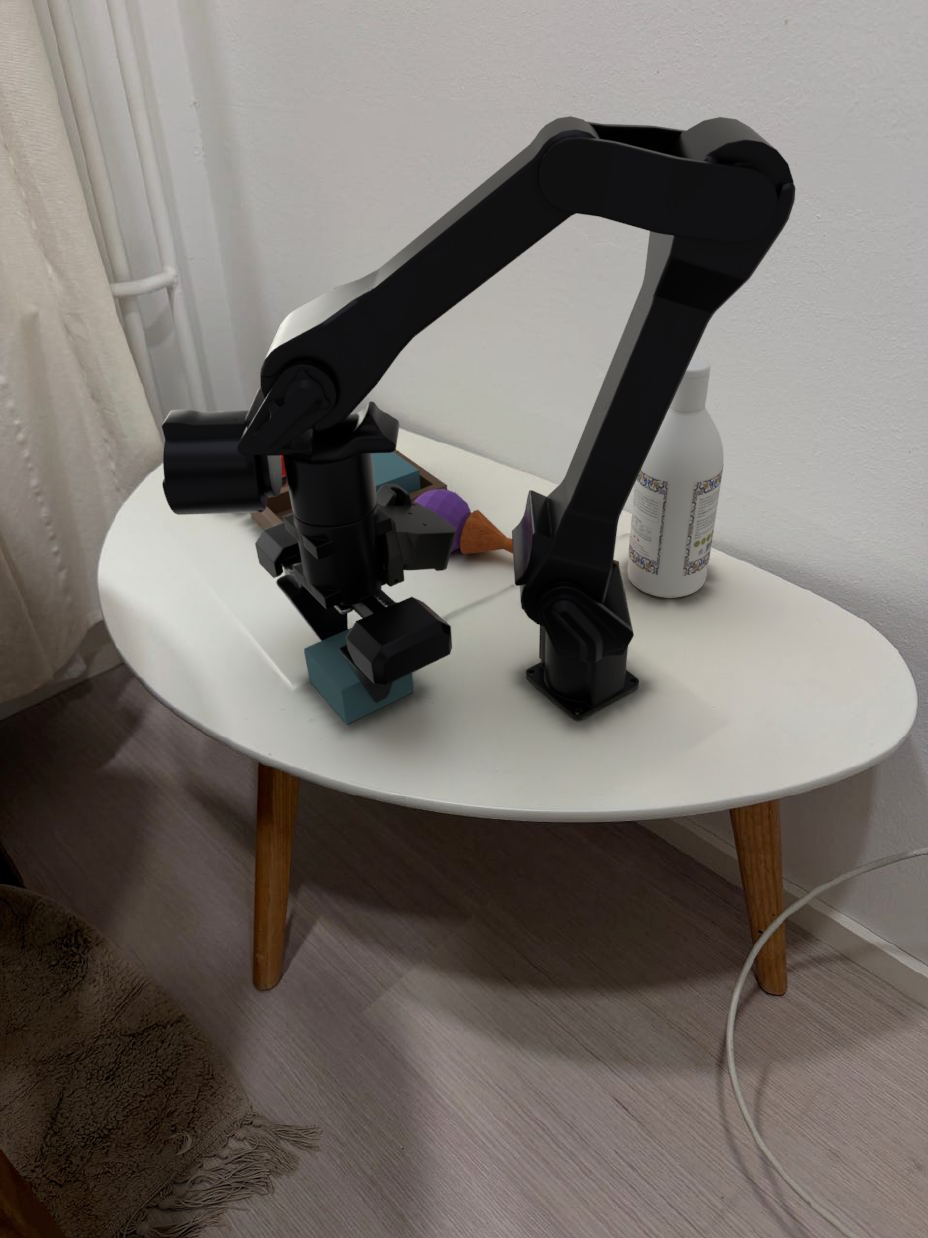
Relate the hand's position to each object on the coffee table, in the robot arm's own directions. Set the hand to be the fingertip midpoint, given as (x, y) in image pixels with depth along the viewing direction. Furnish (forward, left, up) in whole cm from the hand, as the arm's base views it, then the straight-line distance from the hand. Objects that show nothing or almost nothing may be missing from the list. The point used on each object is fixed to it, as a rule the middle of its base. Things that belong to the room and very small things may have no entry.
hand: (360, 677), depth 72 cm
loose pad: (0, 0, -1) cm, 1 cm away
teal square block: (+23, -16, 0) cm, 28 cm away
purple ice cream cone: (+6, -19, -1) cm, 20 cm away
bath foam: (-4, -29, -1) cm, 29 cm away
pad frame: (+23, -12, -1) cm, 26 cm away
